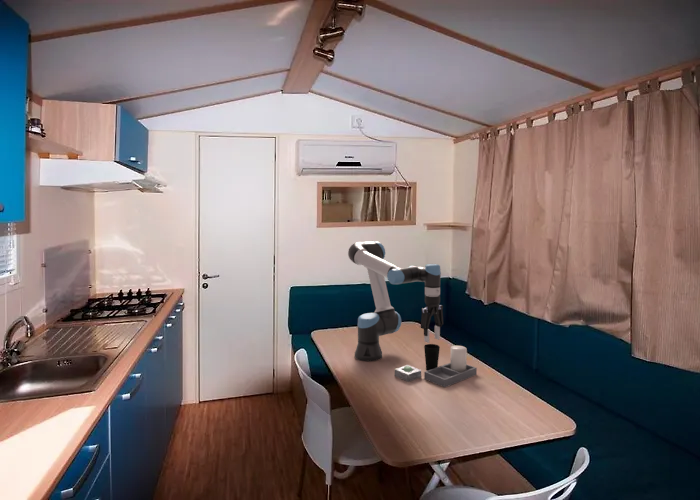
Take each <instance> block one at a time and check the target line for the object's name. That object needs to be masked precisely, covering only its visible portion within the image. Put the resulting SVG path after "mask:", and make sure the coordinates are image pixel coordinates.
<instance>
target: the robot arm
mask: <svg viewBox="0 0 700 500" xmlns="http://www.w3.org/2000/svg"><path fill="white" fill-rule="evenodd" d="M347 251H348V252H347V255H348V258H349V260H350V261H351V262H352V263H354V264H355V265H358V266H363V267H364V268H366V269H367V273H368V274H367V275H368V279H369V284H370V288H371V291H372V292H371V293H372V296H373V301H374V306H375V310H374V312H367V313H363V314H361V315H359V316H358V318H357V345H356V347H355V351H354V358H355V359H356V360H359V361H361V362H376V361H379V360H381V359H382V358H383V351H382V348H381V345H380V337H382V336H385V335H389V334H394V333H397V332H398V331H399V330H400V328H401V326H402V317H401V315H400V313H398V312H397V311H395V307H393V306H392V305H391V301H390V297H389V292H388V287H387V283H386V279H385V278H387V281H388V283H390V284H391V285H402V284H408V283H415V282H421V283H424V303H425V307H424V308H423V307H422V308H421V318H420V319H421V320H420V328H421V329H423V336H424V338H423V341H424V343H427V344H430V334H431V333H430V324H431V319H432V317H433V319H434V323H435V325H434V339H435V340H438V341H439V340H440V339H441V338H440V337H441V335H440V334H441V327H443V325H444V312H443V311H444V310H443V309H444V305H442V304H440V303H441V275H442V272H441V265H439V264H438V263H437V264H436V263H427V264H425V266H418V265H409V266H408V267H400V266H398V265H395V264H393V263H391V262H388V261H386V260H385V257H386V248H385V246H384V245H383V244H382V243H381V242H379V241H376V240H374V241H373V240H371V241H357V242H354V243H352V244H351V245H350V247H349V248H348V250H347Z"/></svg>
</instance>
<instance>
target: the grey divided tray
mask: <svg viewBox="0 0 700 500" xmlns="http://www.w3.org/2000/svg"><path fill="white" fill-rule="evenodd" d="M477 368H478V367H475V366H473V365H470V364H468V363H466V371H464V372H461V373H460V372H457V371H454V370H451V369H450V362H449V363H446V364H444V365H443V364H442V365H440V366H438V367H437V368H434V369H431V370H428V371H427V370H425V371H424V374H423V375H424V378H423V379H424V380H427V381H429V382H431V383H433V384H435V385H438V386H441V387H442V388H447V387H450V386H451V385H454V384H456V383H460V382H462V381H464V380H467V379H469V378H471V377H474V376H477V371H478V369H477Z"/></svg>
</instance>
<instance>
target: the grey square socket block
mask: <svg viewBox="0 0 700 500" xmlns="http://www.w3.org/2000/svg"><path fill="white" fill-rule="evenodd" d="M406 366H409V367H412V371H410V372H406V371H404V367H406ZM394 377H396V378H399V379H401V380H403V381H405V382H408V383H409V382H412V381H414V380H415V381H416V380H417V379H420V378H422V369H419V368H417V367H415V366H412V365H409V364H406V365H403V366H400V367H397V368H394Z"/></svg>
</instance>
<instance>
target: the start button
mask: <svg viewBox="0 0 700 500" xmlns="http://www.w3.org/2000/svg"><path fill="white" fill-rule="evenodd" d="M405 366H406V365H405ZM412 367H413V366H412ZM412 367H409V366H406V367H404V371H406V372H410V371H412Z"/></svg>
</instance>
